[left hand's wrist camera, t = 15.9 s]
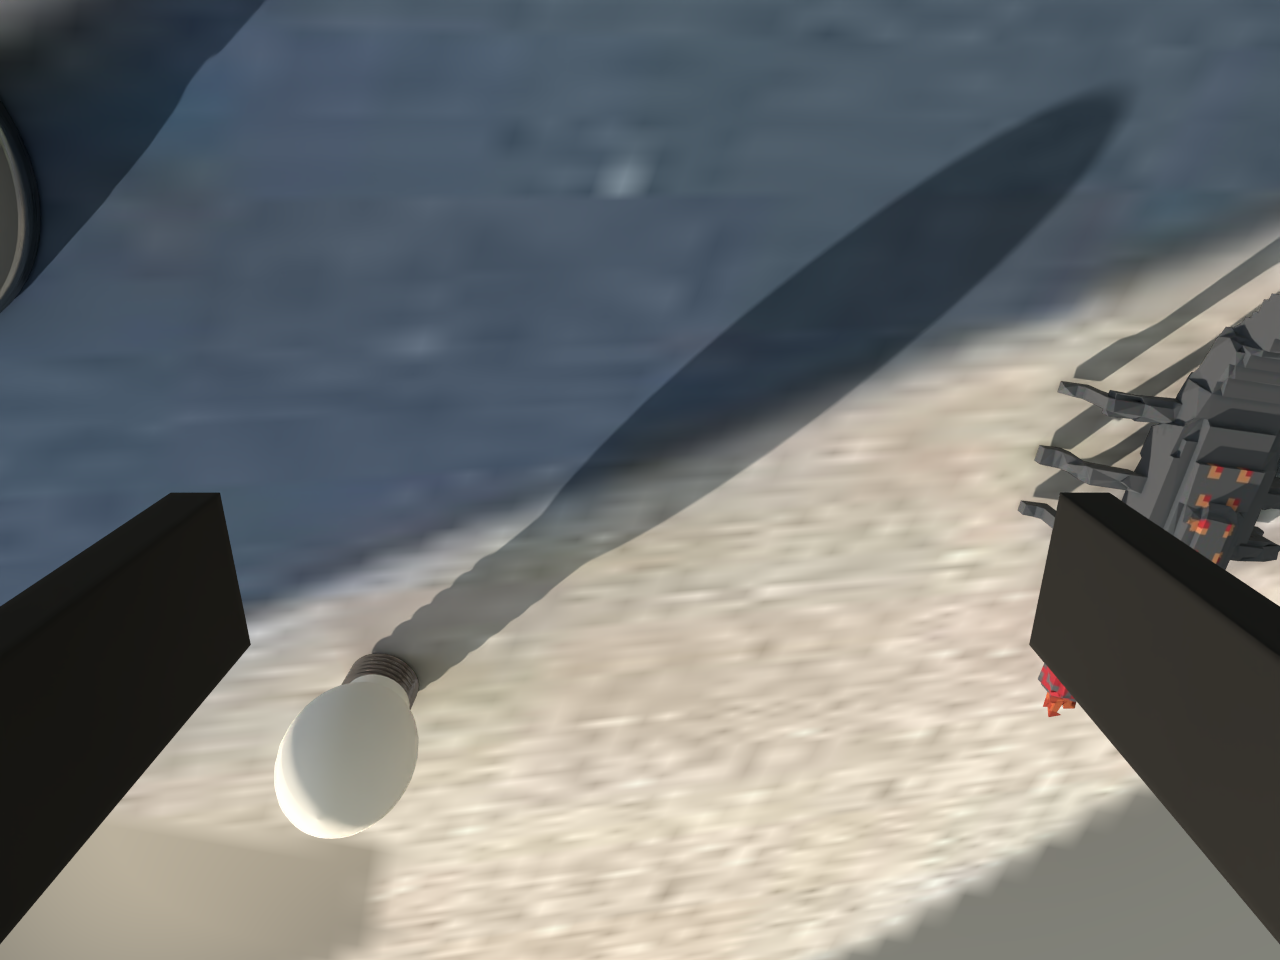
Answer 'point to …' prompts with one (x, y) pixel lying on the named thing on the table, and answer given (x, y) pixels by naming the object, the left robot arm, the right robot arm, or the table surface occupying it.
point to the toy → (1196, 454)
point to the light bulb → (350, 750)
